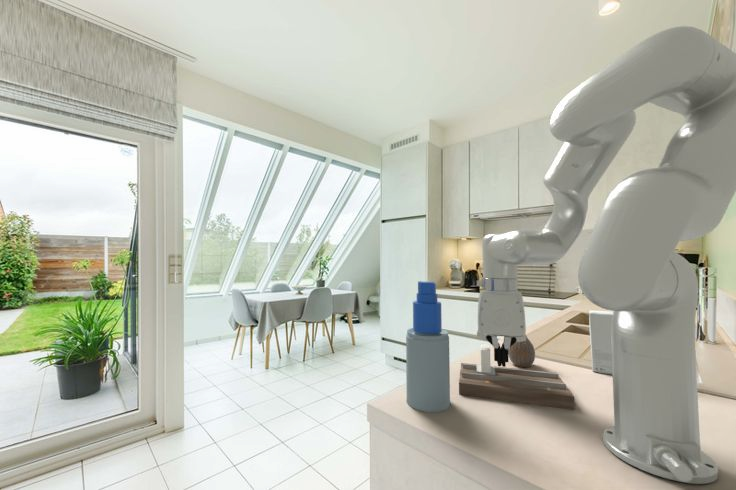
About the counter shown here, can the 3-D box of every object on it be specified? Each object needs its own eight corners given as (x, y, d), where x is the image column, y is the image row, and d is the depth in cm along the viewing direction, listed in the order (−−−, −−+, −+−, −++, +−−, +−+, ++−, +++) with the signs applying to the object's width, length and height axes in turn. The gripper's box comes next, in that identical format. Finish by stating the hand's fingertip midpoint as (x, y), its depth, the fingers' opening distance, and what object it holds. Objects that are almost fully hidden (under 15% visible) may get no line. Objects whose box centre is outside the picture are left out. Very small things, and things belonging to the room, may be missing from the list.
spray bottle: (398, 404, 63) (398, 281, 65) (418, 389, 71) (417, 279, 72) (439, 416, 58) (438, 283, 60) (456, 399, 66) (454, 281, 67)
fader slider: (495, 378, 70) (494, 350, 70) (476, 376, 71) (476, 349, 72) (494, 371, 75) (493, 345, 75) (476, 369, 76) (476, 343, 76)
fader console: (574, 409, 61) (574, 391, 61) (459, 394, 68) (458, 377, 68) (556, 383, 74) (556, 368, 75) (461, 372, 81) (461, 359, 82)
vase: (536, 363, 89) (535, 332, 89) (534, 370, 83) (533, 337, 83) (510, 359, 92) (509, 330, 93) (506, 366, 87) (505, 334, 87)
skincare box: (622, 377, 78) (619, 315, 79) (590, 371, 82) (588, 312, 83) (620, 368, 85) (618, 311, 86) (591, 363, 89) (589, 308, 90)
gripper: (466, 286, 72) (467, 366, 71) (538, 288, 67) (540, 374, 66) (467, 283, 79) (468, 356, 78) (532, 285, 74) (534, 363, 73)
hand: (501, 364), depth 72 cm, fingers closed
